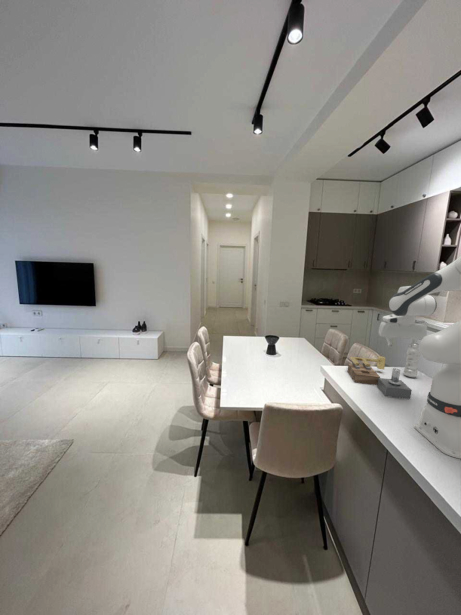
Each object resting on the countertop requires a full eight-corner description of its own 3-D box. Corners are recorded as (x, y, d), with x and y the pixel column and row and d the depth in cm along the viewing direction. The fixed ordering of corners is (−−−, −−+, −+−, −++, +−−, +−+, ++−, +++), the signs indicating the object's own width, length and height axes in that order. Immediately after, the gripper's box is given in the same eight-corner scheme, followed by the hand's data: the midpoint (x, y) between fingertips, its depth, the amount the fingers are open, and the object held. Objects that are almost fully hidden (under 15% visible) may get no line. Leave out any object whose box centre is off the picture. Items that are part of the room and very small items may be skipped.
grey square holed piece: (410, 399, 124) (411, 390, 124) (385, 396, 126) (386, 387, 126) (399, 388, 135) (401, 380, 134) (377, 386, 137) (378, 377, 136)
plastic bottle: (419, 379, 149) (425, 345, 145) (407, 378, 149) (413, 345, 145) (411, 374, 155) (417, 342, 152) (400, 373, 155) (405, 341, 152)
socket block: (379, 385, 138) (380, 374, 137) (355, 382, 140) (356, 371, 139) (368, 373, 154) (370, 363, 153) (347, 371, 156) (348, 361, 155)
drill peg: (400, 395, 128) (404, 372, 126) (389, 394, 129) (393, 371, 127) (396, 390, 133) (399, 368, 131) (385, 389, 134) (388, 367, 132)
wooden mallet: (390, 375, 146) (391, 363, 145) (354, 371, 149) (356, 360, 148) (382, 367, 157) (383, 356, 156) (349, 364, 160) (350, 353, 159)
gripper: (424, 319, 126) (420, 347, 128) (379, 316, 129) (375, 343, 132) (431, 322, 120) (427, 350, 122) (384, 318, 123) (380, 346, 125)
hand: (400, 346), depth 127 cm, fingers open, 8 cm apart
